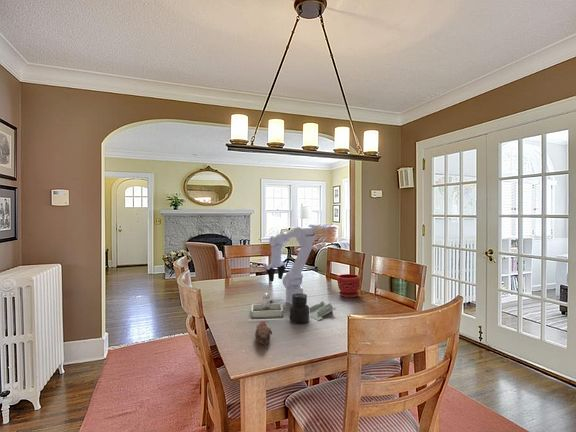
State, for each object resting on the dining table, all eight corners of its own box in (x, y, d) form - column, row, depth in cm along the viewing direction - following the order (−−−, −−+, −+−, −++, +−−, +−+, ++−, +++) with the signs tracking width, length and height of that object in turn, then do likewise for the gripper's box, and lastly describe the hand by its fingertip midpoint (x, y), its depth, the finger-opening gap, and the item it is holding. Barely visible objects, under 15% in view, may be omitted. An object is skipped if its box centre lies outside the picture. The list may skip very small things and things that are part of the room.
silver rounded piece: (266, 310, 159) (266, 292, 159) (272, 312, 156) (272, 293, 156) (259, 312, 156) (259, 293, 156) (265, 315, 153) (265, 295, 152)
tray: (281, 310, 162) (281, 303, 162) (283, 317, 150) (283, 310, 150) (251, 311, 161) (251, 304, 161) (251, 319, 149) (251, 311, 149)
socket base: (274, 304, 172) (274, 299, 172) (275, 309, 164) (275, 304, 164) (259, 305, 171) (259, 300, 171) (259, 309, 163) (259, 304, 163)
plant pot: (352, 292, 198) (352, 272, 197) (363, 297, 185) (364, 277, 185) (333, 293, 193) (333, 274, 193) (344, 299, 181) (344, 278, 181)
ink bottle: (313, 320, 146) (313, 295, 146) (302, 326, 139) (301, 299, 139) (297, 316, 152) (297, 291, 152) (285, 321, 146) (285, 295, 146)
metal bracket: (321, 297, 165) (339, 305, 152) (324, 308, 166) (341, 316, 152) (298, 309, 159) (314, 318, 145) (301, 320, 160) (317, 329, 146)
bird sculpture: (269, 327, 138) (269, 316, 138) (274, 353, 113) (274, 339, 113) (254, 328, 137) (254, 316, 137) (256, 354, 112) (256, 340, 112)
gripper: (279, 254, 193) (278, 276, 193) (262, 257, 182) (262, 281, 182) (288, 255, 188) (287, 278, 189) (271, 258, 177) (271, 283, 178)
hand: (275, 279), depth 185 cm, fingers open, 7 cm apart
